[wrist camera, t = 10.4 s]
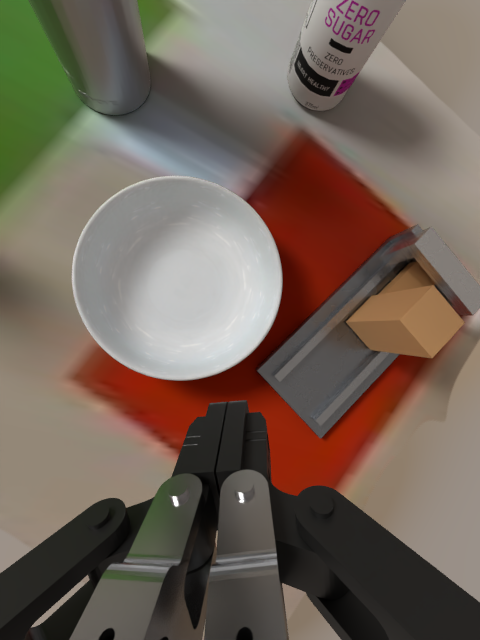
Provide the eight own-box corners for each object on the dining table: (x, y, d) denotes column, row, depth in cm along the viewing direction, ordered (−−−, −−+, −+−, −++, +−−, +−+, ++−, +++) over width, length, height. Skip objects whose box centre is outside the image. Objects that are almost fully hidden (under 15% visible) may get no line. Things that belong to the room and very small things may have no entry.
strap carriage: (370, 349, 38) (432, 358, 28) (345, 321, 37) (399, 320, 28) (429, 288, 39) (507, 275, 29) (406, 260, 39) (478, 238, 29)
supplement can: (336, 52, 40) (421, -111, 25) (348, 112, 40) (439, -15, 25) (280, 55, 38) (333, -114, 24) (292, 117, 39) (353, -14, 24)
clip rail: (316, 435, 38) (346, 461, 31) (255, 369, 37) (270, 380, 29) (442, 301, 41) (497, 295, 34) (389, 237, 40) (433, 216, 33)
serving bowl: (235, 393, 37) (244, 408, 30) (67, 336, 34) (36, 339, 27) (289, 241, 38) (310, 223, 31) (134, 175, 35) (119, 139, 29)
